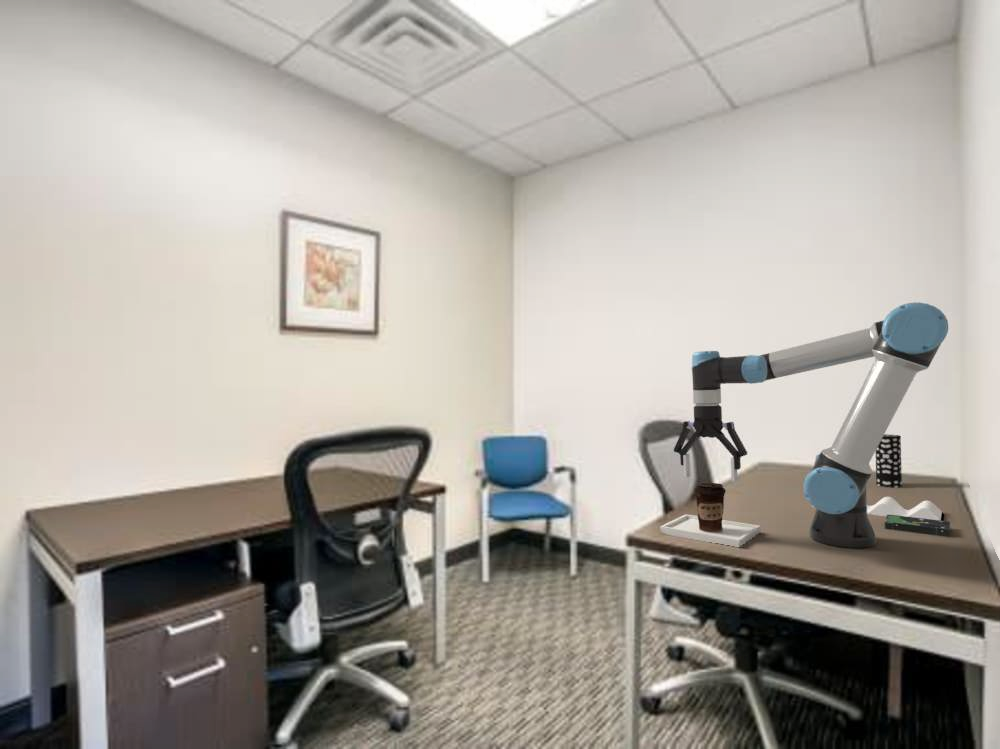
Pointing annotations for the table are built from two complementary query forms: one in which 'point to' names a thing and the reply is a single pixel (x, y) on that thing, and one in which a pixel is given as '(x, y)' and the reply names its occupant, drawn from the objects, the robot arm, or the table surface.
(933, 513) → the white wavy piece
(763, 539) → the table surface
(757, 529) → the tray
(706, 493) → the coffee cup
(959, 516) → the table surface
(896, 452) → the white-spotted black cylinder
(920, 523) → the disk drive
